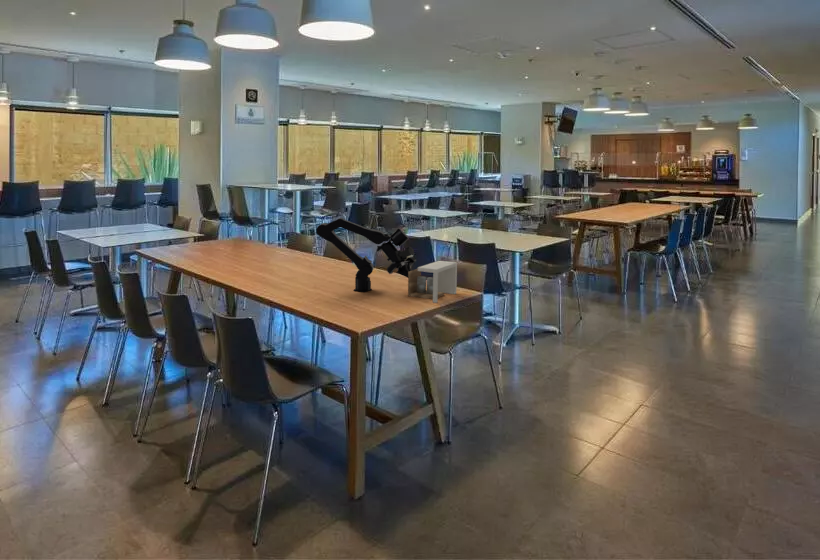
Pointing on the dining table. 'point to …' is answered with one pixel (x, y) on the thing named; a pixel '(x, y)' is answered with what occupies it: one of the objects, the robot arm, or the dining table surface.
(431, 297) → the caddy
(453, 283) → the counter
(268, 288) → the dining table surface
